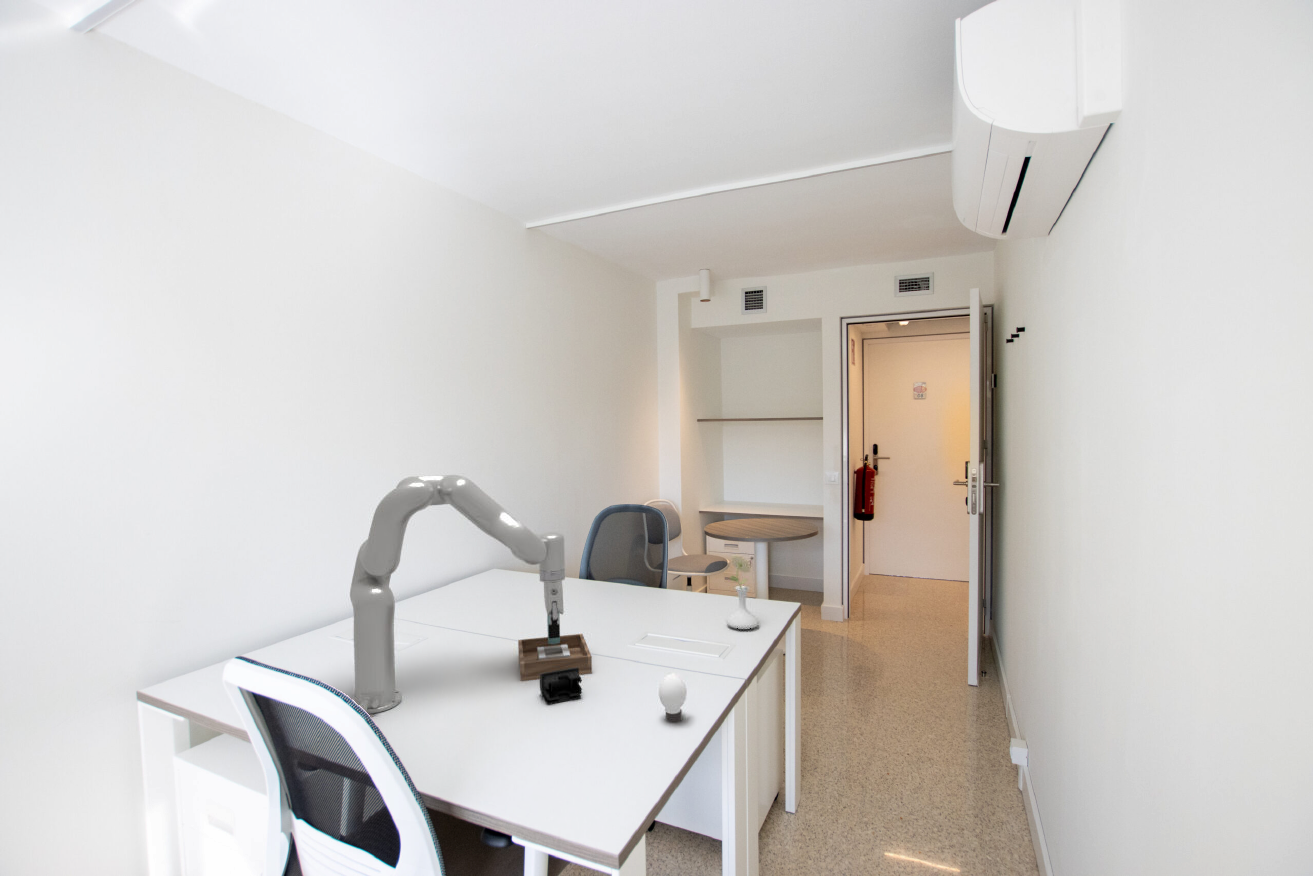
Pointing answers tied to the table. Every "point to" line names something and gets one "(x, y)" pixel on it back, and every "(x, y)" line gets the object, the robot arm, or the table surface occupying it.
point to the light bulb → (672, 696)
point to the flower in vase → (741, 599)
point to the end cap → (560, 686)
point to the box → (553, 656)
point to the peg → (552, 640)
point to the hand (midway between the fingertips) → (553, 634)
